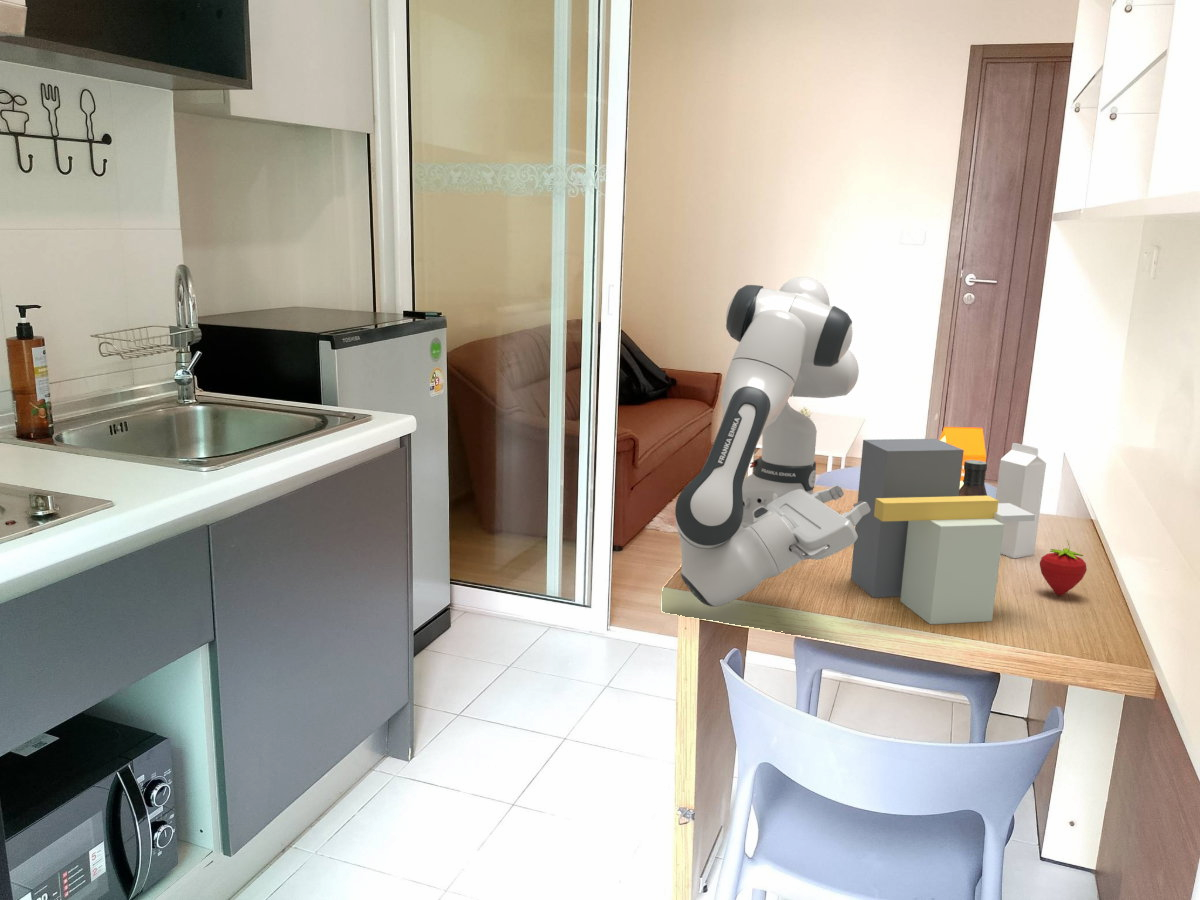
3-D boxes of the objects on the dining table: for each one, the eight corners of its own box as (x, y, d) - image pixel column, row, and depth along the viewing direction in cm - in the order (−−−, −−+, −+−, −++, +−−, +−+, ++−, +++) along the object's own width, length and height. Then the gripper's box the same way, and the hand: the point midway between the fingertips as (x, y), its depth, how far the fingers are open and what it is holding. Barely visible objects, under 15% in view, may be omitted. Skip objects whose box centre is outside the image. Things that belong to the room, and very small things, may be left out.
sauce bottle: (985, 568, 181) (997, 467, 177) (950, 565, 182) (962, 464, 178) (979, 557, 187) (990, 459, 183) (945, 554, 189) (956, 457, 184)
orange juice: (979, 518, 214) (989, 431, 210) (940, 517, 215) (949, 430, 210) (966, 508, 222) (976, 424, 218) (928, 507, 222) (937, 423, 218)
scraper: (888, 525, 150) (890, 506, 150) (868, 512, 157) (870, 494, 156) (1034, 520, 155) (1036, 503, 154) (1008, 508, 162) (1011, 491, 161)
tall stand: (873, 597, 165) (887, 451, 159) (850, 579, 173) (863, 439, 168) (947, 594, 167) (963, 449, 162) (921, 576, 176) (936, 438, 170)
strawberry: (1033, 586, 172) (1040, 533, 170) (1079, 592, 170) (1087, 538, 168) (1038, 598, 167) (1045, 543, 165) (1085, 603, 165) (1093, 548, 163)
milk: (1013, 559, 187) (1027, 450, 182) (988, 549, 193) (1001, 443, 188) (1034, 554, 190) (1049, 447, 185) (1009, 545, 195) (1022, 440, 190)
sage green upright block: (930, 624, 154) (941, 526, 150) (900, 601, 164) (909, 508, 160) (991, 621, 156) (1004, 524, 152) (958, 598, 166) (969, 507, 162)
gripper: (796, 545, 140) (876, 497, 141) (749, 507, 160) (819, 465, 160) (813, 579, 142) (892, 532, 143) (765, 537, 161) (834, 496, 162)
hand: (853, 497), depth 152 cm, fingers open, 8 cm apart
